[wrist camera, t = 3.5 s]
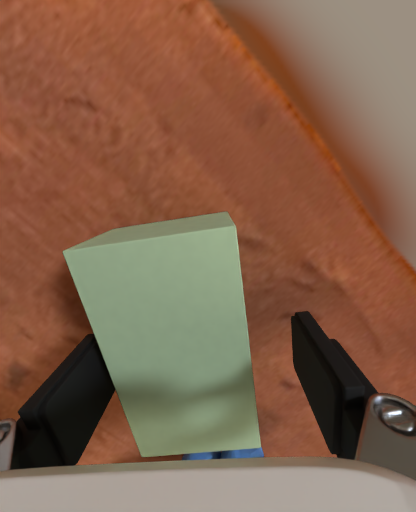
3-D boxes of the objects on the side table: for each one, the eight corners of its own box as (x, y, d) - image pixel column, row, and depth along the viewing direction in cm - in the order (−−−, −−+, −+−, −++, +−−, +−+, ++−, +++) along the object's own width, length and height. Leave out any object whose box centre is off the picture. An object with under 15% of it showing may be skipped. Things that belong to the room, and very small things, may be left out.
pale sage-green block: (113, 228, 11) (61, 251, 7) (227, 211, 11) (236, 225, 7) (159, 386, 14) (141, 458, 11) (247, 377, 14) (261, 448, 10)
